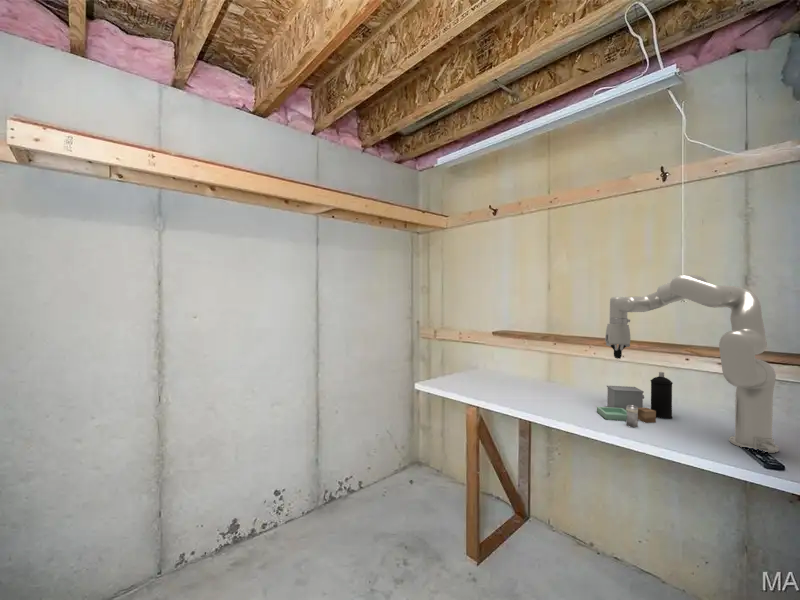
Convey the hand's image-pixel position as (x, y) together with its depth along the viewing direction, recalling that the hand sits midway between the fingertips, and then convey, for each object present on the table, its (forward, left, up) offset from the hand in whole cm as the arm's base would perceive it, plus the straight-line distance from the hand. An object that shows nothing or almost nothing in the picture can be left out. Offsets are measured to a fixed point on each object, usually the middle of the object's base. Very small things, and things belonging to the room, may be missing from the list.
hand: (617, 358), depth 174 cm
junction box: (-7, 0, -24) cm, 25 cm away
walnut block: (-21, -3, -24) cm, 32 cm away
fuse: (-29, +6, -24) cm, 38 cm away
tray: (-18, +8, -24) cm, 31 cm away
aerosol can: (-13, -13, -24) cm, 30 cm away
